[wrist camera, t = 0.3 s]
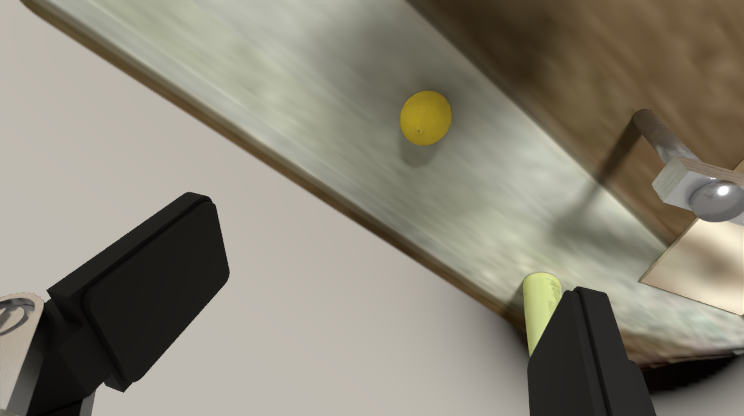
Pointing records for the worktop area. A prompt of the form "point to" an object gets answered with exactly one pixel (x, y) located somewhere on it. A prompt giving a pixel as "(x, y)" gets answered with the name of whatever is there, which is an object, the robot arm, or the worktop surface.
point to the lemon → (425, 118)
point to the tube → (539, 304)
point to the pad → (704, 265)
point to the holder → (740, 167)
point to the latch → (692, 176)
